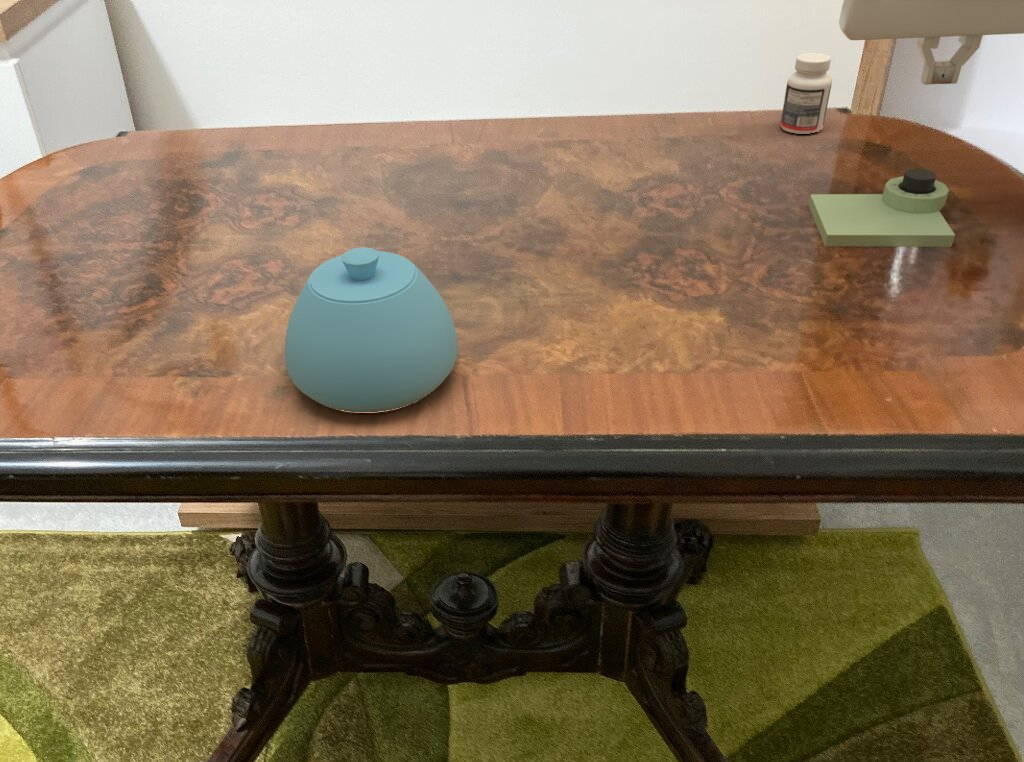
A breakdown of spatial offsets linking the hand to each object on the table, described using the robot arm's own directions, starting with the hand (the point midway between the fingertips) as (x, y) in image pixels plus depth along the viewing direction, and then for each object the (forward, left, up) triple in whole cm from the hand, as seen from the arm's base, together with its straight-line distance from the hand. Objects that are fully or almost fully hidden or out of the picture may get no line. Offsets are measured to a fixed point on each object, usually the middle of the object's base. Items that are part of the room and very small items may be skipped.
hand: (938, 82), depth 91 cm
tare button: (0, +1, -11) cm, 11 cm away
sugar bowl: (+52, +34, -13) cm, 63 cm away
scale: (+4, +4, -13) cm, 14 cm away
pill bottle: (+7, -25, -14) cm, 29 cm away
